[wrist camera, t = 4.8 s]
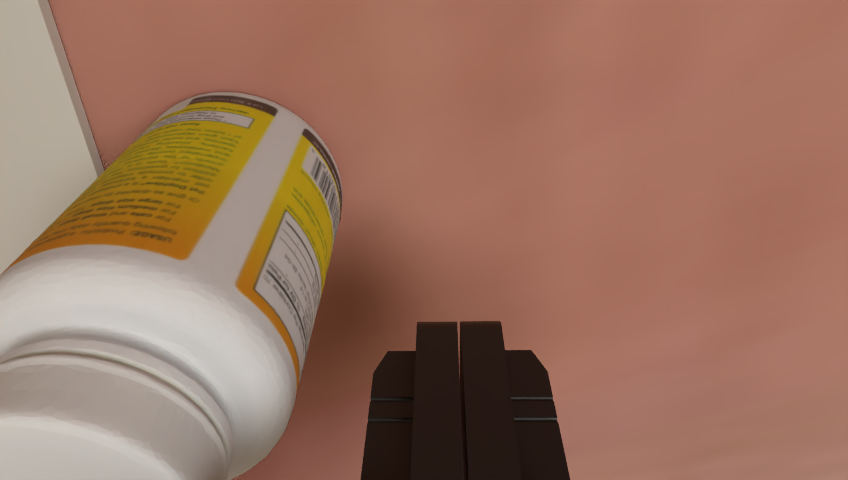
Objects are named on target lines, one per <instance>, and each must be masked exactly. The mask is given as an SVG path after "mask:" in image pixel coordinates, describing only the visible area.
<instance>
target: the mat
mask: <svg viewBox="0 0 848 480" xmlns="http://www.w3.org/2000/svg"><path fill="white" fill-rule="evenodd" d="M103 172H104V168H103V165H102V162H101V159H100V156H99V153H98V150H97V147H96V144H95V141H94V138H93V135H92V132H91V129H90V126H89V123H88V120H87V117H86V114H85V111H84V108H83V105H82V102H81V99H80V96H79V93H78V90H77V87H76V84H75V81H74V78H73V75H72V72H71V69H70V66H69V63H68V60H67V57H66V54H65V51H64V48H63V44H62V41H61V38H60V35H59V32H58V29H57V26H56V23H55V20H54V17H53V14H52V11H51V8H50V5H49V2H48V0H0V275H1V274H2V273H3V272H4V271H5V270H6V269H7V268H8V267H9V266H10V265H11V264H12V263H13V262H14V261H15V260H16V259H17V258H18V257H19V256H20V255H21V254H22V253H23V252H24V251H25V249H26V248H28V247H29V246H30V244H31V243H32V242H33V241H34V240H35V239H37V238H38V237H39V236H40V235H41V234H42V233H43V232H44V231H45V230H46V229H47V228H48V227H49V226H50V225H51V224H52V223H53V222H54V221H55V220H56V219H57V218H58V217H59V216H60V215H61V214H62V213H63V212H64V211H65V210H66V209H67V208H68V207H69V206H70V205H71V204H72V203H73V202H74V201H75V200H76V199H77V198H78V197H79V196H80V195H81V194H82V193H83V192H84V191H85V190H86V189H87V188H88V187H89V186H90V185H91V184H92V183H93V182H94V181H95V180H96V179H97V178H98V177H99V176H100V175H101V174H102V173H103Z"/></svg>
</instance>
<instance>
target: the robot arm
mask: <svg viewBox="0 0 848 480" xmlns="http://www.w3.org/2000/svg"><path fill="white" fill-rule="evenodd" d="M361 480H570V476H569V472H568V467H567V462H566V457H565V453H564V448H563V443H562V438H561V434H560V429H559V424H558V422H557V414H556V410H555V405H554V401H553V395H552V391H551V386H550V381H549V376H548V372H547V370H546V369H545V368H544V366H543V365H542V364H541V362H540V361H539V360H538V358H537V357H536V356H535V355H534V353H533V352H532V351H531V350H505V348H504V340H503V333H502V326H501V322H500V321H463V322H460V381H459V357H458V333H457V322H417V334H416V351H388V352H387V353H386V355H385V356H384V358H383V359H382V361H381V362H380V364H379V365H378V367H377V368H376V370H375V371H374V374H373V382H372V390H371V402H370V407H369V415H368V423H367V431H366V440H365V448H364V456H363V465H362V473H361Z"/></svg>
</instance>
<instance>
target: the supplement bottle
mask: <svg viewBox="0 0 848 480" xmlns="http://www.w3.org/2000/svg"><path fill="white" fill-rule="evenodd" d="M341 209H342V184H341V178H340V174H339V171H338V168H337V165H336V163H335V161H334V158H333V156H332V154H331V153H330V151H329V149H328V148H327V146H326V145H325V143H324V142H323V140H322V139H321V138H320V136H319V135H318V134H317V133H316V132H315V131H314V130H313V129H312V128H311V127H310V126H309V125H308V124H307V123H306V122H305V121H304V120H302V119H301V118H300V117H299V116H297V115H296V114H294V113H293V112H291V111H290V110H288V109H286V108H284V107H282V106H281V105H279V104H276V103H274V102H272V101H269V100H267V99H264V98H261V97H258V96H253V95H249V94H244V93H235V92H214V93H207V94H202V95H198V96H194V97H191V98H189V99H186V100H184V101H182V102H180V103H178V104H176V105H174V106H172V107H171V108H170V109H168V110H167V111H166V112H164V113H163V114H162V115H161V116H160V117H158V118H157V119H156V120H155V121H154V122H153V123H152V124H151V125H150V126H149V127H148V128H147V129H146V130H145V131H144V132H143V133H142V134H141V135H140V136H139V137H138V138H137V139H136V140H135V141H134V142H133V143H132V144H131V145H130V146H129V147H128V148H127V149H126V150H125V151H124V152H123V153H122V154H121V155H120V156H119V157H118V158H117V159H116V160H115V161H114V162H113V163H112V164H111V165H110V166H109V167H108V168H107V169H106V170H105V171H104V172H103V173H102V174H101V175H100V176H99V177H98V178H97V179H96V180H95V181H94V182H93V183H92V184H91V185H90V186H89V187H88V188H87V189H86V190H85V191H84V192H83V193H82V194H81V195H80V196H79V197H78V198H77V199H76V200H75V201H74V202H73V203H72V204H71V205H70V206H69V207H68V208H67V209H66V210H65V211H64V212H63V213H62V214H61V215H60V216H59V217H58V218H57V219H56V220H55V221H54V222H53V223H52V224H51V225H50V226H49V227H48V228H47V229H46V230H45V231H44V232H43V233H42V234H41V235H40V236H39V237H38V238H37V239H35V240H34V241H33V242H32V243H31V244H30V246H29V247H28V248H26V249H25V251H24V252H23V253H22V254H21V255H20V256H19V257H18V258H17V259H16V260H15V261H14V262H13V263H12V264H11V265H10V266H9V267H8V268H7V269H6V270H5V271H4V272H3V273H2V274H1V275H0V480H231V479H233V478H235V477H237V476H239V475H241V474H243V473H244V472H246V471H248V470H249V469H251V468H252V467H253V466H255V465H256V464H258V463H259V462H260V461H261V460H262V459H263V458H265V457H266V456H267V455H268V454H269V453H270V451H271V450H272V449H273V448H274V446H275V445H276V444H277V443H278V441H279V439H280V438H281V436H282V434H283V433H284V431H285V429H286V427H287V424H288V422H289V419H290V416H291V413H292V410H293V407H294V403H295V399H296V396H297V391H298V388H299V384H300V380H301V376H302V371H303V367H304V363H305V359H306V355H307V351H308V347H309V342H310V338H311V334H312V330H313V326H314V322H315V318H316V314H317V310H318V307H319V303H320V298H321V295H322V291H323V288H324V283H325V278H326V274H327V270H328V266H329V262H330V258H331V253H332V249H333V245H334V241H335V237H336V233H337V229H338V225H339V222H340V219H341Z"/></svg>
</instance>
